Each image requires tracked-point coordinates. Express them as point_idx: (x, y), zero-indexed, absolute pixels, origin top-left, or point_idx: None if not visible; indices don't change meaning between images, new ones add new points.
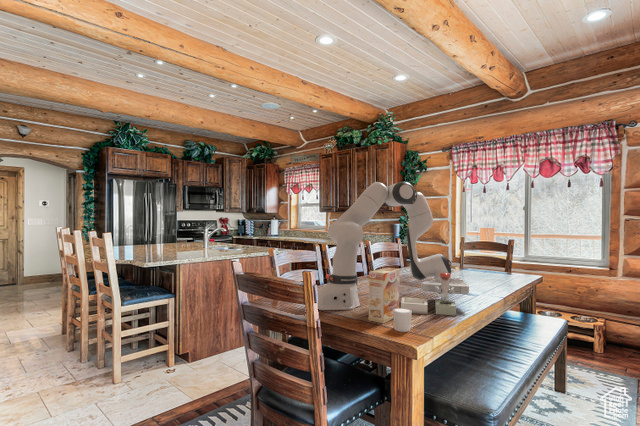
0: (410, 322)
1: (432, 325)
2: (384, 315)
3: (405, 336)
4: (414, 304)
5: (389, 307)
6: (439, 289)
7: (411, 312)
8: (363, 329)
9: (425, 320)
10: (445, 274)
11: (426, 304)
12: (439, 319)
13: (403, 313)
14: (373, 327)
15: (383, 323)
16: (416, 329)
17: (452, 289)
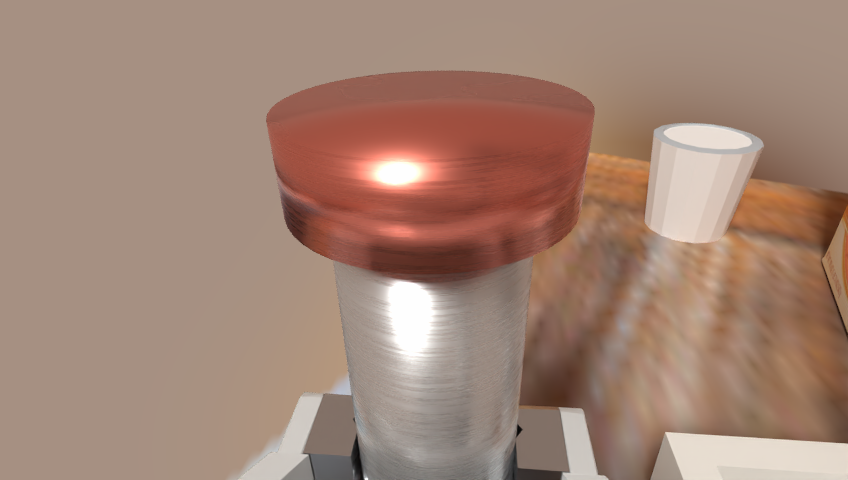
0: (648, 185)
1: (551, 278)
2: (840, 224)
3: (636, 185)
4: (828, 447)
5: None
6: (548, 409)
7: (653, 138)
8: (841, 204)
9: (612, 342)
10: (441, 73)
11: (681, 441)
12: None
13: (680, 125)
14: (823, 223)
15: (823, 259)
16: (619, 231)
17: (307, 392)
